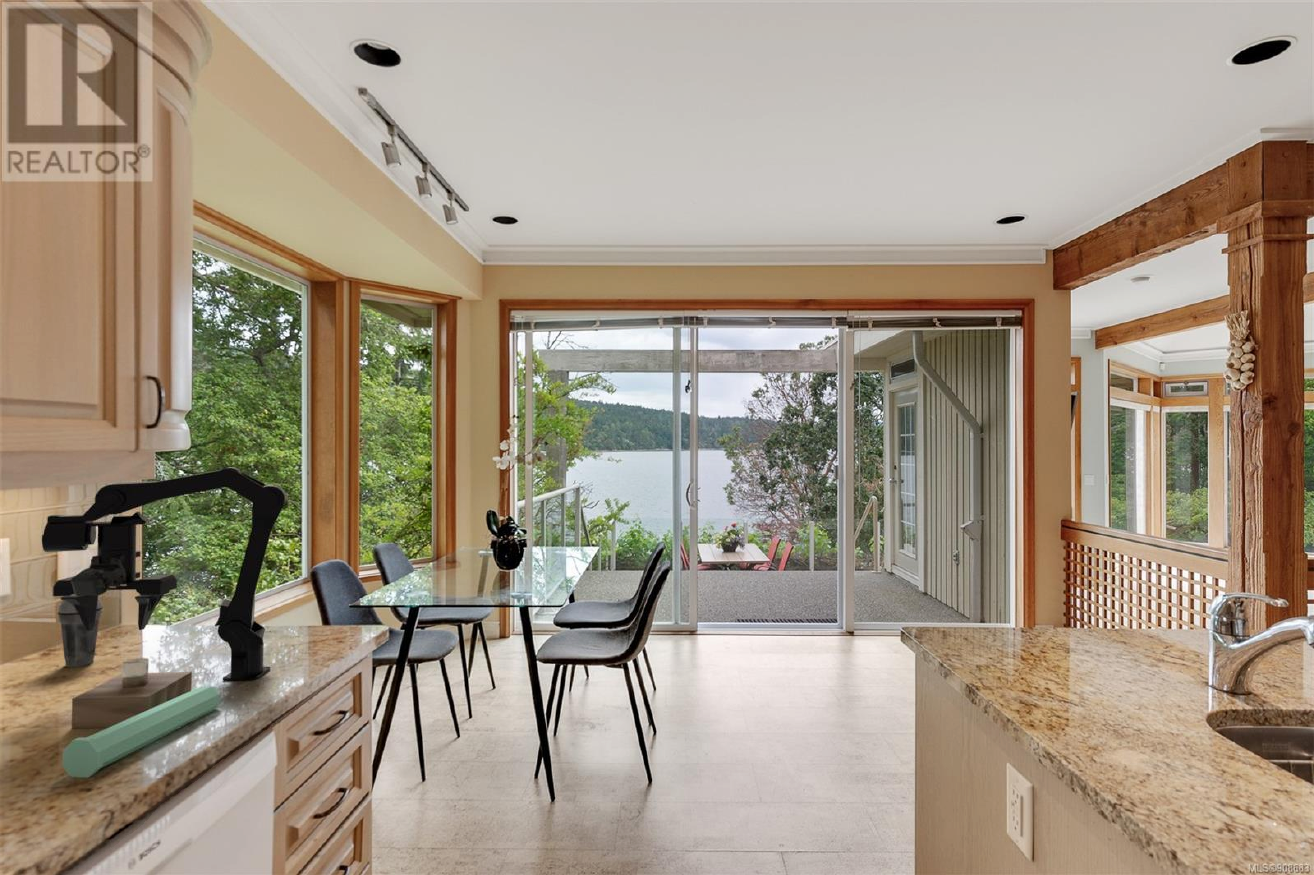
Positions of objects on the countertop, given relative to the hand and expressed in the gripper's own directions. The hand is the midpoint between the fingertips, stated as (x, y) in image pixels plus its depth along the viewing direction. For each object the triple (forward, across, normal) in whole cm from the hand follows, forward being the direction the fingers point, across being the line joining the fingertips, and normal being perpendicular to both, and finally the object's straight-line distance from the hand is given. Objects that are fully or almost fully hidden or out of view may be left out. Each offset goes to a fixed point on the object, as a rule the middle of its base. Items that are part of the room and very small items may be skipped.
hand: (115, 630), depth 125 cm
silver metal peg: (+11, +10, -10) cm, 18 cm away
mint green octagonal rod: (+12, +20, -21) cm, 31 cm away
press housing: (+12, +10, -10) cm, 19 cm away
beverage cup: (+12, -19, +18) cm, 29 cm away
